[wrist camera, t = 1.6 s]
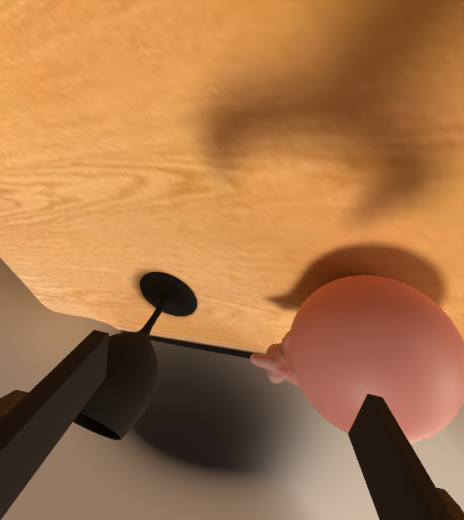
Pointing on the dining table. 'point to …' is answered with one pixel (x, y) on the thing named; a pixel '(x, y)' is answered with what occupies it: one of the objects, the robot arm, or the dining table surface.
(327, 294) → the balloon
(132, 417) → the wine glass
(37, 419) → the robot arm
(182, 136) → the dining table surface
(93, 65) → the dining table surface
